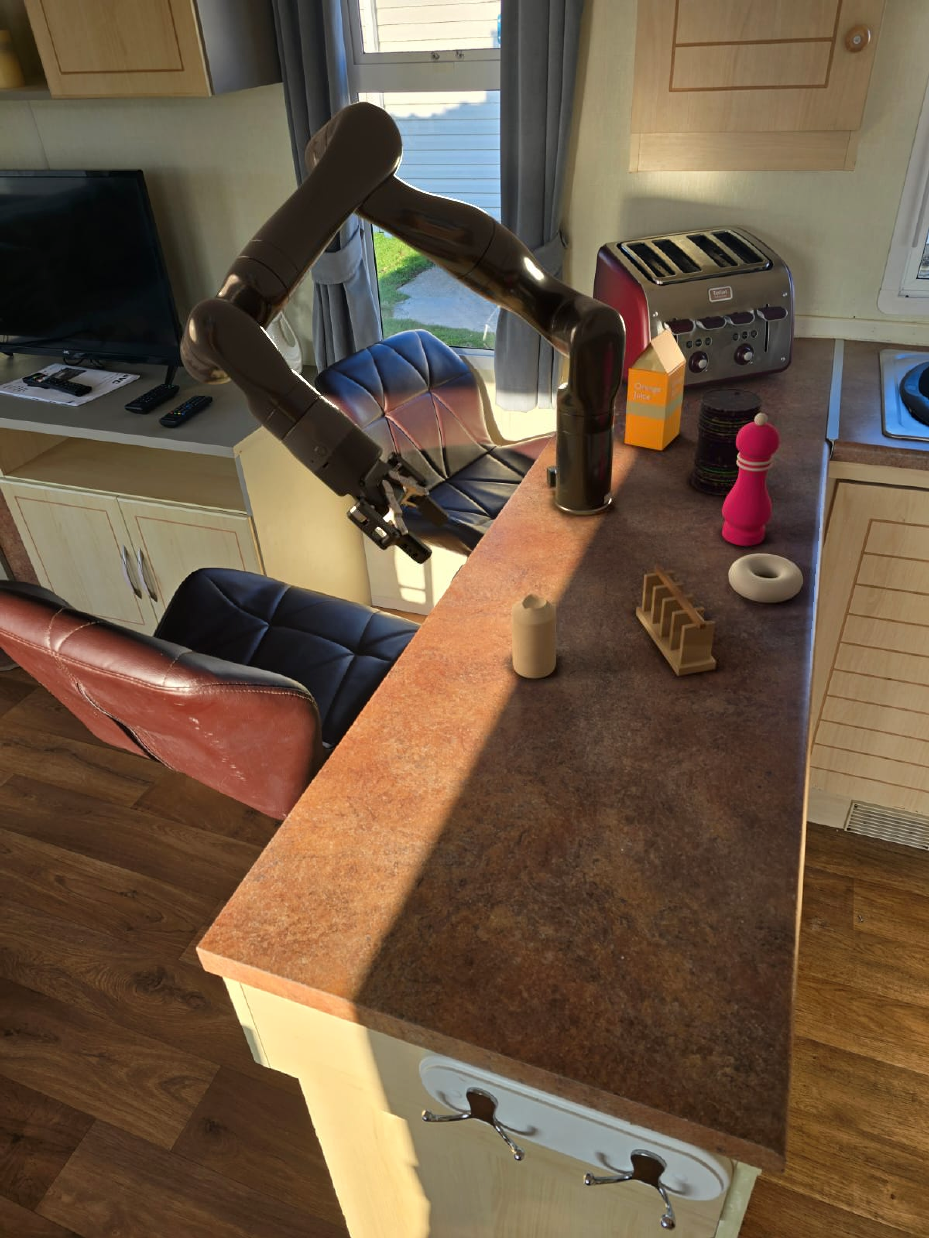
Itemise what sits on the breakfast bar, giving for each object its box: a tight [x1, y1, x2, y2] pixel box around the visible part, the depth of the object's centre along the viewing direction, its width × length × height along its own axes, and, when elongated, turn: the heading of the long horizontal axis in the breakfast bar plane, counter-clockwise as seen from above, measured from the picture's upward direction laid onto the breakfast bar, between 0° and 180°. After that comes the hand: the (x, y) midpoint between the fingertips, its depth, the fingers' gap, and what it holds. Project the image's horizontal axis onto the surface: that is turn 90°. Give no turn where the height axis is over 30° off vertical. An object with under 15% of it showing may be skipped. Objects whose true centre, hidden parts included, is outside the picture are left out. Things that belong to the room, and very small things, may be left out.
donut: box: [727, 553, 804, 604], centre depth 120 cm, size 10×4×10 cm
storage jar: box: [691, 387, 763, 496], centre depth 143 cm, size 10×10×15 cm
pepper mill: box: [721, 412, 781, 547], centre depth 127 cm, size 7×7×20 cm
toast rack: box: [635, 564, 717, 677], centre depth 110 cm, size 14×5×8 cm, turn 12°
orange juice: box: [624, 327, 687, 451], centre depth 158 cm, size 8×9×20 cm
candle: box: [510, 593, 557, 679], centre depth 106 cm, size 6×6×10 cm
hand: (436, 540), depth 101 cm, fingers open, 8 cm apart
